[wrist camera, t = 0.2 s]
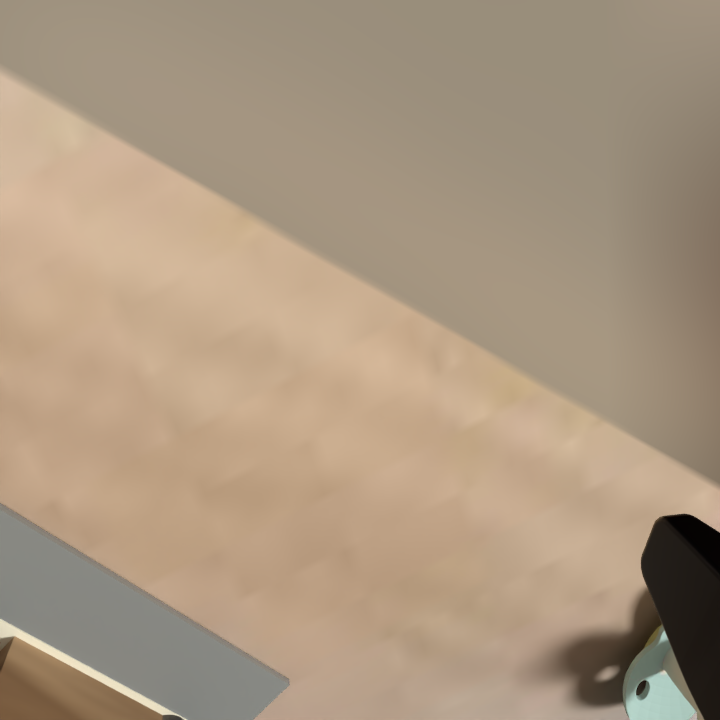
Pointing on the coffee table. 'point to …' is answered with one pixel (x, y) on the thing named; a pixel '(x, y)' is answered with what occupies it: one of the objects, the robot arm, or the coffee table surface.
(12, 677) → the fence base
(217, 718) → the card
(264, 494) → the coffee table surface
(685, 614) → the robot arm
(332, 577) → the coffee table surface
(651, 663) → the pacifier
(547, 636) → the coffee table surface
